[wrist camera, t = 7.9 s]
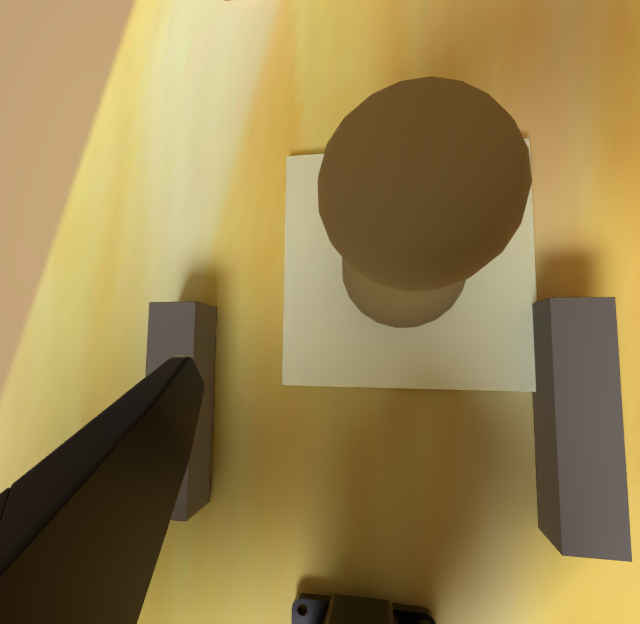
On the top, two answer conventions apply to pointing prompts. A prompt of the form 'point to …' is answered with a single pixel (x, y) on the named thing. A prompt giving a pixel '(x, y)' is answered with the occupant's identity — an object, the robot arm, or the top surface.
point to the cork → (421, 195)
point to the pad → (401, 343)
